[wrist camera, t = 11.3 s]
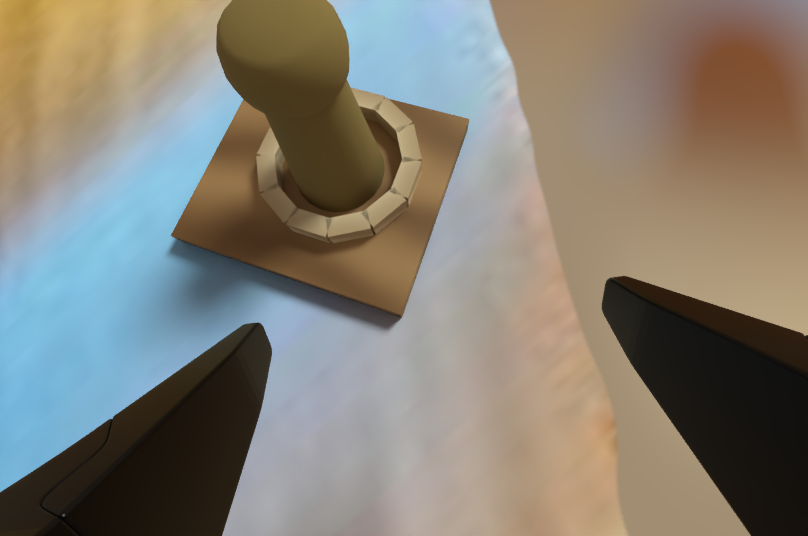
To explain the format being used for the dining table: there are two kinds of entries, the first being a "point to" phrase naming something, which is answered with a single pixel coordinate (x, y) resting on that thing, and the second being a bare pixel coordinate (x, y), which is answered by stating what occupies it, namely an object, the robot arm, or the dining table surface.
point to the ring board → (324, 230)
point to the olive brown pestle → (303, 95)
